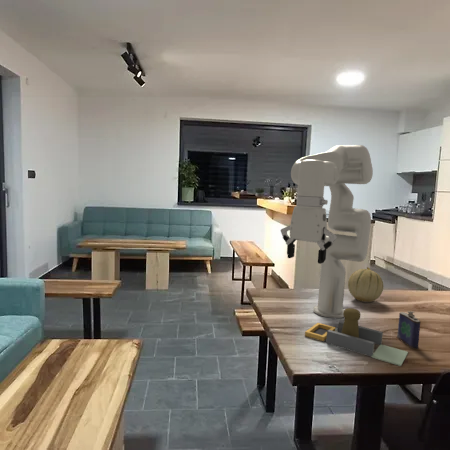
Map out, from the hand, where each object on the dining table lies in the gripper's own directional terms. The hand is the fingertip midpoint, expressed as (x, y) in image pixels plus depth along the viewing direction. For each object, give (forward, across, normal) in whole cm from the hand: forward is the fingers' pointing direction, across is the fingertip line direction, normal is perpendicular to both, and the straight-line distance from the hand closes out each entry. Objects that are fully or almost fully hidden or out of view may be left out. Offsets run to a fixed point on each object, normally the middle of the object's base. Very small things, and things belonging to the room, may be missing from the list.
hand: (305, 260), depth 109 cm
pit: (+28, 0, -15) cm, 32 cm away
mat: (+28, -23, -15) cm, 39 cm away
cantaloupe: (+28, 0, -65) cm, 71 cm away
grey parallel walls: (+28, -12, -16) cm, 34 cm away
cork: (+28, -10, -16) cm, 33 cm away
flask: (+28, -25, -29) cm, 47 cm away
